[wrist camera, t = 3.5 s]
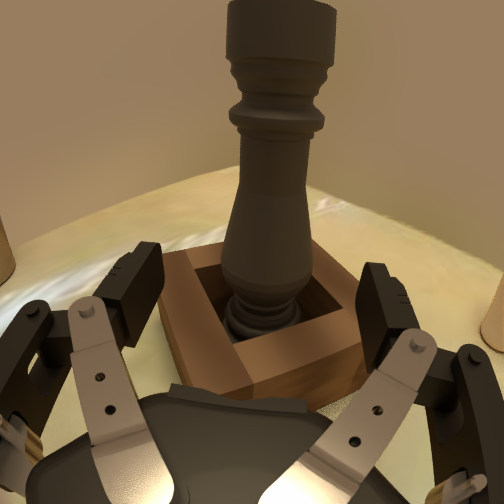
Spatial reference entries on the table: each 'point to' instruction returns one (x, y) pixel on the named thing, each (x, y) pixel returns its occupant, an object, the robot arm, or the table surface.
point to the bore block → (266, 346)
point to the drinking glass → (495, 320)
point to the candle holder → (273, 157)
